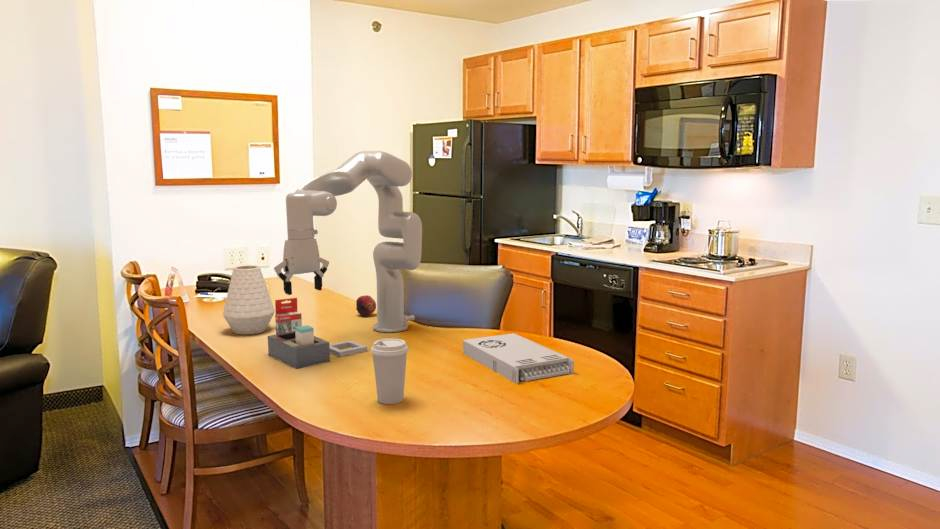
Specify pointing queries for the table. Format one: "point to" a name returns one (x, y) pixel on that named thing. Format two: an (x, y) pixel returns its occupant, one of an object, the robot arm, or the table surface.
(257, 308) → the vase
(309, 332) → the plug
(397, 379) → the coffee cup
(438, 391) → the table surface
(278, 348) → the port block
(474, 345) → the power supply unit
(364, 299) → the fruit
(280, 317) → the ink box
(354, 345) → the white square frame
